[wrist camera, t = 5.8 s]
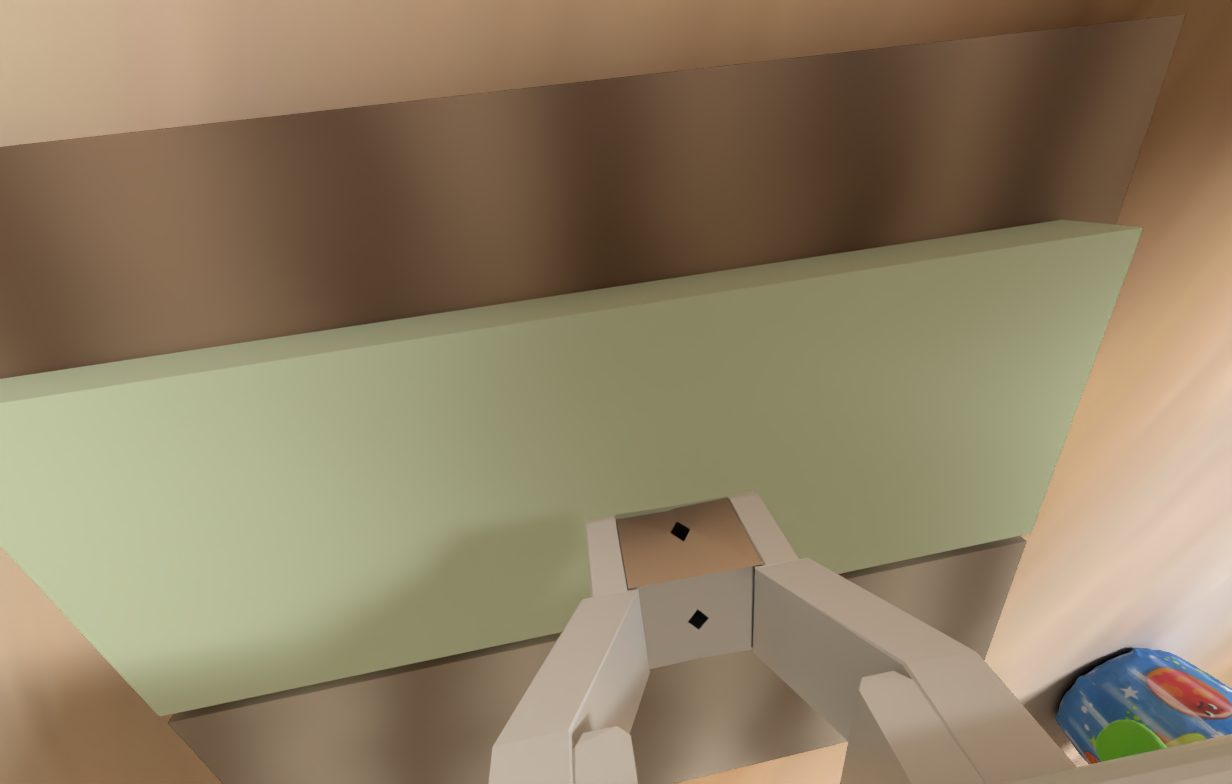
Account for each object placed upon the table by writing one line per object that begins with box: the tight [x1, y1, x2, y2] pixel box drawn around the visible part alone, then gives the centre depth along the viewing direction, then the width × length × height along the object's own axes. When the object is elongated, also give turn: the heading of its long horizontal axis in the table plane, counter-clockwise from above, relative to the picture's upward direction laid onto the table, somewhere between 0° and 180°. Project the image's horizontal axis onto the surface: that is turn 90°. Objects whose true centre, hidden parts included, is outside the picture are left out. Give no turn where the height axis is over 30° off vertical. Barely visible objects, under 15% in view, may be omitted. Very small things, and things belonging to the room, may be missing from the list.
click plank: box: [0, 220, 1143, 717], centre depth 13 cm, size 28×10×2 cm, turn 97°
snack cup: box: [1055, 648, 1232, 765], centre depth 23 cm, size 16×10×10 cm
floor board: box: [0, 14, 1186, 784], centre depth 15 cm, size 32×25×3 cm
